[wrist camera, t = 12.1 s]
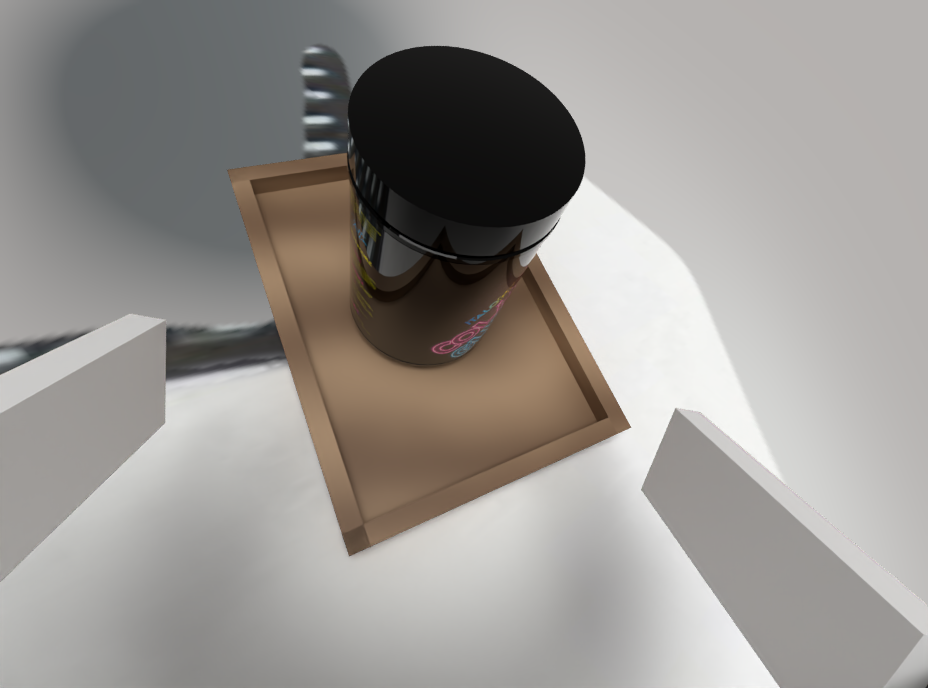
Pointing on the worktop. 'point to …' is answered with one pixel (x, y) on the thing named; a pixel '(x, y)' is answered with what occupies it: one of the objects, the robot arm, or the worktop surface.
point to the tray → (412, 370)
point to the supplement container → (449, 195)
